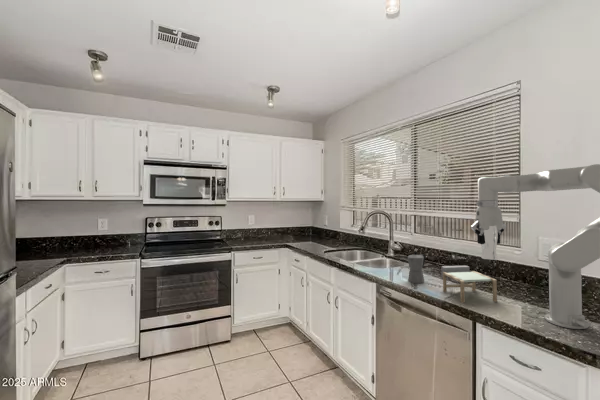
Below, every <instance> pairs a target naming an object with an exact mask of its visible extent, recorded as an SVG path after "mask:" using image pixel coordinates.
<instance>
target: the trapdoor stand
mask: <svg viewBox="0 0 600 400" xmlns="http://www.w3.org/2000/svg"><path fill="white" fill-rule="evenodd" d="M471 272H475V273H477V274H480V275H482V276H485V277H487V278H490V279H491V281H490V282H491V283H492V301H493V302H495V303H496V302H498V291H497V289H498V288H497V286H498V285H497V281H498V280H497V279H496V278H494V277H491V276H489V275H485V274H482V273H480V272H478V271H475V270H471ZM446 276H448V277H446ZM447 278H449V279H453V280H454V281H457V282H458V283H457V284H455V283H454V284H453V283H452V284H447ZM469 287H470V288H471V291H473V292H476V290H477V287H476V282H471V283H465V282H464V281H463V280H461V279H459V278H457V277H455V276H453V275H451V274H449V273H446V272H443V276H442V291H443V292H444V293H447V289H448V288H449V289H450V288H460V289H459V290H460V303H462V304H464V303H465V288H469Z"/></svg>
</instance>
